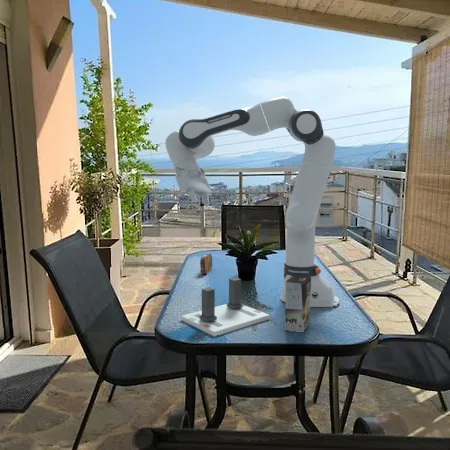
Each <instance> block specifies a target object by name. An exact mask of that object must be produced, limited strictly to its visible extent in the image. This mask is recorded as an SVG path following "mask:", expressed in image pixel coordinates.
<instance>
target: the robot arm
mask: <svg viewBox="0 0 450 450" xmlns="http://www.w3.org/2000/svg"><path fill="white" fill-rule="evenodd" d="M282 128H283V129H286V130H287V132H288V133H289V134H290V136H291V138H293V139H294V140H296V141H298V142H301V143H303V145H304V153H303V155H302V156H303V157H302V159H301V163H300V166H299V170H298V173H297V176H296V180H295V182H294V183H295V184H294V186H293V189H292V191H291V192H292V193H291V196H290V199H289V202H288V205H287V206H288V207H287V209H286V213H285V219H286V235H285V255H284V257H285V258H284V260H285V261H284V263H283V285H282V289H281V294H280V296H279V298H280V300H281V301H282V302H284V303H285V299H286V281H287V280H288V279H289V278H291V277H292V276H293V275H294V276H306V277H311V295H310V308H334V307H333V306H336V307H338V306H339V305H340V299H339V297H338V296H337V295H336V294H335V293H334V292H335V291H334V289H333V286H332V284H331V283H330V281H328V280H327V279H325V278H324V277H323V276H322V275H320V274H321V273H322V270H321V268H320V266H319V265H317V264H315V254H316V251H315V250H316V221H317V217H318V214H319V211H320V207H321V203H322V200H323V196H324V193H325V189H326V186H327V182H328V180H329V179H328V178H329V176H330V173H331V170H332V166H333V163H334V158H335V152H336V142H335V140H334V139H333V138H332V137H331V136H329V135H326V134H325V133H324V128H323V124H322V119H321V118H320V116H319V114H318V113H317V112H316V111H315V110H313V109H308V108H305V109H299V110H297V109H296V108H295V106H294V103H293V102H292V100H291V99H289V98H288V97H286V96H280V97H275V98H271V99H268V100H265V101H262V102H260V103H259V102H258V103H256V104H254V105H251V106H248V107H244V108H239V109H238V108H237V109H234V110H229V111H227V112H223V113H220V114H216V115H213V116H210V117H207V118H201V119H200V118H198V119H197V118H195V119H194V118H193V119H188V120H186V121H185V122H184V123H183V124H182V125H181V126H180V128H179V130H176V131H173V132H171V133H170V134H169V135H168V136H167V137H166V139H165V143H164V144H165V147H166V148H165V149H166V152H167V154H168V157H169V159H170V161H171V162H172V164H173V169H174V172H175V179H176V183H177V185H178V188H179V189H180V191H182V192H185V193H187V195H188V196H189V197H190V199H191V201H192V203H198V202H199V200H200V199H199V198H198V197H201V198H202V199H203V205H204V206H205V207H207V206H209V205H211V202H210V200H209V199H210V198H209V196H211V195H212V189H211V186H210V184H209V180H208V179H207V177H206V176H207V175H206V172H205V170H203V169H202V168H201V166H200V165H199V163H198V162H197V160H199V159H202V158H205V157H207V156H209V155H210V154H212V152H213V151H214V149H215V139H214V138H213V137H212V136H215V135H219V134H222V133H225V132H228V131H240V132H242V133H244V134H246V135H248V136H251V137H256V136H262V135H265V134H268V133H271V132H272V131H275V130H277V129H282ZM338 304H339V305H338ZM337 305H338V306H337Z"/></svg>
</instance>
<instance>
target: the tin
mask: <svg viewBox="0 0 450 450" xmlns="http://www.w3.org/2000/svg"><path fill="white" fill-rule="evenodd" d="M199 264H200V273H201V274H202V275H208V274H209V273H210V272H211V271H212V269H213V257H212V253H205V254H204V255H203V256H201V258H200V260H199ZM210 270H211V271H210ZM209 271H210V272H209Z"/></svg>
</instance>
